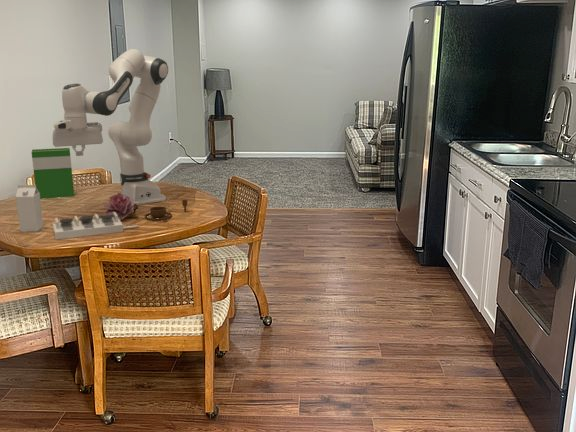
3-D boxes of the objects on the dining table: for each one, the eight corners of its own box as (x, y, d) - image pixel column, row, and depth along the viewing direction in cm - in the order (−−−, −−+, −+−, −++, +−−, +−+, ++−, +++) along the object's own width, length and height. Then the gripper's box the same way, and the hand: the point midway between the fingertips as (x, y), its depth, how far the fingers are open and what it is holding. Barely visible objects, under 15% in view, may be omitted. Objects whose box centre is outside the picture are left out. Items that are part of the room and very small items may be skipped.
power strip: (133, 221, 248) (132, 209, 246) (139, 229, 236) (138, 216, 235) (53, 230, 234) (52, 217, 233) (55, 239, 223) (54, 226, 221)
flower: (103, 207, 259) (104, 188, 254) (136, 209, 263) (138, 191, 259) (101, 225, 247) (102, 205, 242) (136, 227, 251) (138, 208, 246)
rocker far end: (71, 222, 235) (71, 217, 235) (72, 222, 229) (72, 217, 229) (60, 223, 233) (59, 218, 233) (61, 223, 227) (60, 219, 227)
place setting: (144, 214, 261) (143, 202, 260) (187, 211, 267) (187, 199, 265) (145, 225, 245) (144, 211, 244) (192, 221, 250) (191, 208, 249)
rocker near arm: (111, 217, 242) (110, 213, 242) (113, 218, 236) (113, 213, 235) (100, 219, 240) (100, 214, 240) (102, 219, 234) (102, 215, 234)
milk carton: (26, 227, 239) (20, 183, 234) (43, 226, 240) (38, 183, 234) (20, 232, 232) (14, 187, 227) (37, 231, 233) (32, 186, 228)
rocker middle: (91, 221, 238) (91, 216, 239) (93, 219, 232) (92, 214, 232) (80, 222, 237) (80, 217, 237) (82, 220, 230) (81, 215, 230)
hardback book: (36, 199, 285) (31, 151, 279) (37, 195, 292) (32, 149, 285) (74, 196, 291) (69, 150, 285) (74, 193, 298) (69, 147, 291)
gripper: (100, 121, 247) (103, 152, 251) (50, 123, 239) (54, 156, 243) (102, 122, 241) (105, 154, 245) (51, 125, 233) (55, 158, 237)
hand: (79, 155), depth 244 cm, fingers closed
